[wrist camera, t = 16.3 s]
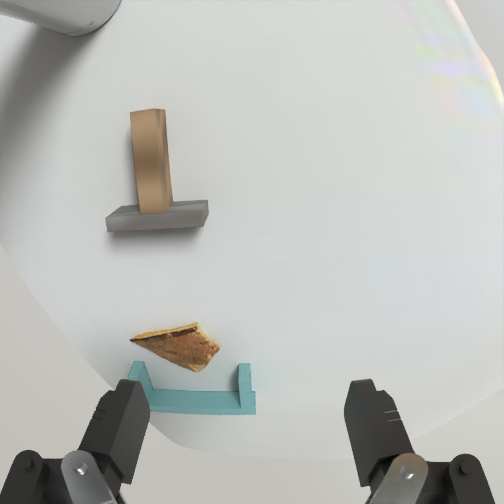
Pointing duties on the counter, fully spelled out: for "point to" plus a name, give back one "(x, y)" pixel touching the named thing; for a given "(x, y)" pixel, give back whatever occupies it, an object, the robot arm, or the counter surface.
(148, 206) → the hammer
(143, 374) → the u-shaped bracket
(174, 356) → the shard
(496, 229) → the counter surface
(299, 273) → the counter surface
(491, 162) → the counter surface
